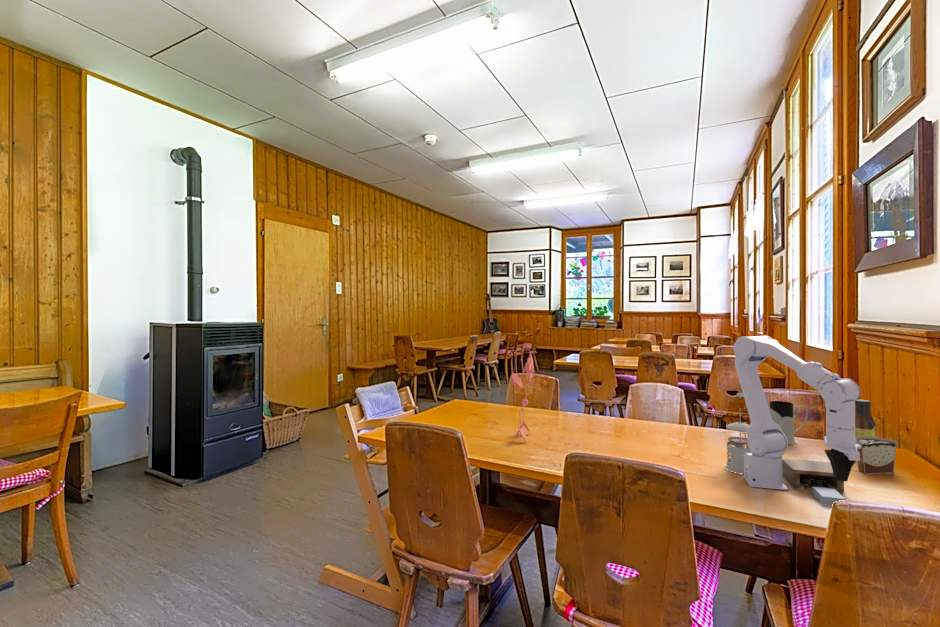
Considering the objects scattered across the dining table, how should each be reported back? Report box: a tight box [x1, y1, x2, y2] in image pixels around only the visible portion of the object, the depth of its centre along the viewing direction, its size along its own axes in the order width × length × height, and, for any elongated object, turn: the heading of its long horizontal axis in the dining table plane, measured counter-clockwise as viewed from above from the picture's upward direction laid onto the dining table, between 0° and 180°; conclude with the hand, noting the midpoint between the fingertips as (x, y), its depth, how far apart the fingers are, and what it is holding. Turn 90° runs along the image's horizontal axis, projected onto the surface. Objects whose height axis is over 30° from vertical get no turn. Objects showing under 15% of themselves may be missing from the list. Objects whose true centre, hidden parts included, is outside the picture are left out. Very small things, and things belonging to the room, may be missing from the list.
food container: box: [855, 436, 899, 475], centre depth 142 cm, size 12×6×10 cm, turn 92°
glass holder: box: [769, 400, 809, 445], centre depth 174 cm, size 9×14×15 cm, turn 88°
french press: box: [724, 392, 752, 474], centre depth 145 cm, size 10×12×25 cm
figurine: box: [511, 353, 536, 441], centre depth 183 cm, size 15×26×35 cm, turn 163°
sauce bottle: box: [854, 399, 877, 438], centre depth 153 cm, size 7×6×20 cm
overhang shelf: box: [782, 458, 845, 494], centre depth 132 cm, size 12×10×6 cm
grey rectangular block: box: [812, 486, 846, 507], centre depth 121 cm, size 5×7×2 cm
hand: (841, 480), depth 114 cm, fingers closed
